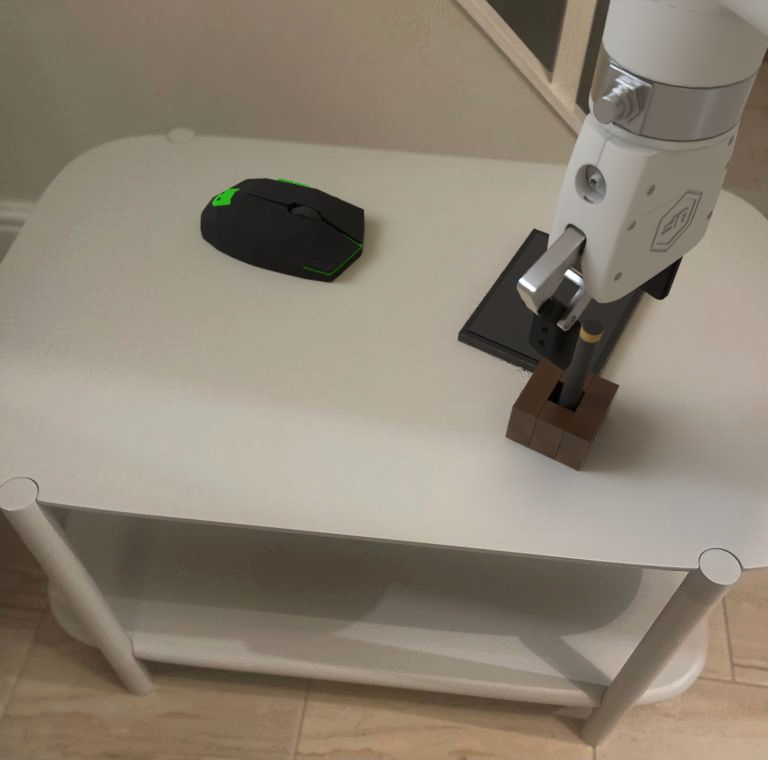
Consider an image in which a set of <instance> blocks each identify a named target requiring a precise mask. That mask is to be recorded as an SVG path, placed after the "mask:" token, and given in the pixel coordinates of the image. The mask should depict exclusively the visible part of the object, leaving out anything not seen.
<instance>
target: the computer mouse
mask: <svg viewBox="0 0 768 760" xmlns="http://www.w3.org/2000/svg"><path fill="white" fill-rule="evenodd" d="M199 223H200V224H199V225H200V226H199V228H200V234H201V236H202V239H203V240H204V241H206V242H207V243H208V244H210V246H212V247H213V248H215V250H217V251H219V252H220V253H223V254H225V255H227V256H228V257H230V258H233V259H235V260H238V261H240V262H242V263H245V264H248V265H251V266H254V267H257V268H259V269H260V268H261V269H264V270H268V271H272V272H276V273H280V274H284V275H288V276H293V277H296V278H300V279H305V280H311V281H319V282H324V283H325V282H326V283H332V282H333V281H334V280H336V279H337V278H338V277H339V276H340V275H342V273H344V272H345V271H346V270H347V269H348V268H350V266H351V265H353V263H354V262H355V261H356V260H358V259H359V258H360V257H361V256H362V254H363V249H364V239H365V236H364V235H365V208H361V207H359V206H357V205H355V204H353V203H350V202H348V201H346V200H343V199H341V198H339V197H337V196H334V195H331V194H329V193H327V192H326V191H323V190H321V189H318V188H316V187H310V185H307V184H304V183H301V182H298V181H295V182H294V181H293V180H289V179H284V178H278V179H273V178H268V177H261V178H260V177H258V178H246V179H244V180H242V181H240V182H238V183H237V184H234V185H233V186H231V187H229V188H227V189H225V190H223V191H222V192H219V193H218V194H216V195H215V196H213V197H211V199H210V201H209V202H208V203H207V204H206V206H205V207H204V208H203V210H202V211H201V213H200V219H199Z"/></svg>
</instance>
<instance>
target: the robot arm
mask: <svg viewBox="0 0 768 760" xmlns="http://www.w3.org/2000/svg"><path fill="white" fill-rule="evenodd" d="M767 50H768V0H609V4H608V9H607V14H606V19H605V23H604V29H603V33H602V37H601V41H600V45H599V50H598V55H597V60H596V64H595V68H594V72H593V77H592V82H591V88H590V91H589V96H588V107H589V111H590V112H589V113H588V114H587V115H586V116H585V118H584V121H583V124H582V125H581V129H580V131H579V133H578V136H577V139H576V141H575V144H574V146H573V149H572V153H571V155H570V158H569V161H568V165H567V168H566V171H565V174H564V177H563V180H562V183H561V186H560V190H559V194H558V197H557V200H556V205H555V209H554V212H553V217H552V221H551V224H550V225H551V226H550V229H549V233H548V234H549V240H548V248H547V251H546V252H545V253H544V254H543V255H542V256H541V257H540V258H539V259H538V260H537V261H536V263H535V264H534V265H533V266H532V267H531V268H530V269H529V270H528V271H527V272H526V273H525V274H524V275H523V276H522V277H521V279H520V280H519V281H518V283H517V290H518V292H519V294H520V296H521V298H522V304H524V305H525V306H526V307H528V308H529V309H530V310H532V311H533V312H534V315H533V320H532V325H531V330H530V335H529V343H530V345H531V346H532V347H533V348H534V349H535V350H536V351H537V352H538V353H539V354H540V355H541V356H543V357H544V358H547V359H548V360H550V361H551V362H552V363H553V364H555V365H556V366H557V367H558V368H560V369H561V370H565V369H566V368H567V367H569V366H570V365H571V362H572V359H573V355H574V352H575V348H576V344H577V341H578V337H579V333H580V330H581V326H582V325H581V323H580V322H579V321H578V320H577V319H578V318H579V316H580V315H581V313H582V312H583V310H584V309H585V308H586V306H587V305H588V303H589V302H590V300H591V299H592V298H593V299H595V300H596V301H597V302H599V303H608V302H612V301H615V300H618V299H620V298H622V297H623V296H625V295H627V294H628V293H630V292H631V291H633V290H634V289H636V288H637V287H639V288H640V289H642V290H643V291H644V293H646V294H648V295H649V296H651V297H652V298H653V299H655V300H657V301H663V300H665V299H666V298H667V297H668V296H670V292H671V289H672V287H673V284H674V281H675V278H676V276H677V274H678V272H679V269H680V266H681V263H682V261H683V258H684V256H685V255H686V254H687V253H689V252H691V250H692V249H694V248H695V247H696V246H697V245H698V244H699V243H700V242H701V241H702V239H703V238H704V236H705V234H706V232H707V230H708V227H709V225H710V222H711V219H712V217H713V213H714V211H715V208H716V206H717V203H718V199H719V197H720V194H721V191H722V189H723V184H724V182H725V178H726V175H727V172H728V169H729V166H730V162H731V160H732V156H733V152H734V149H735V145H736V142H737V138H738V134H739V133H738V132H739V127H740V123H741V117H742V114H743V112H744V109H745V107H746V104H747V102H748V99H749V96H750V94H751V91H752V89H753V86H754V84H755V81H756V78H757V76H758V73H759V71H760V68H761V65H762V63H763V61H764V58H765V55H766V52H767ZM579 258H582V260H581V268H582V274H581V273H580V272H578V271H577V270H575V269H574V268H572V265H573V264H574V263H575V262H576V261H577V260H578V259H579ZM564 277H565V278H567V279H568V280H569V281H571V282H572V283H574V284H575V285H576V286H578V287H579V289H578V291H577V292H576V294H575V295H574V297H573V298H572V300H571V301H570V303H569V304H568V305H567V306H566V305H565V304H563V303H562V302H560V301H559V300H558V299H556V298H555V297H554V296H552V295H553V294H554V292H555V291H556V289H557V288H558V286H559V285H560V283H561V282H562V280H563V279H564Z"/></svg>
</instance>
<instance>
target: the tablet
mask: <svg viewBox="0 0 768 760" xmlns="http://www.w3.org/2000/svg"><path fill="white" fill-rule="evenodd" d="M549 234H550V233H547V232H545V231H543V230H540V229H537V228H533V229H532V230H531V231H530V233H529V234H528V236H526V238H525V240H524V241H523V242H522V244H521V245H520V247H519V248H518V250H517V251H516V252H515V253H514V255H513V256H512V257H511V259H510V260H509V262H508V263H507V264H506V266H505V268H504V269H503V270H502V272H501V273H500V275H498V277H497V279H496V280H495V282H494V283H493V284H492V286H491V287H490V288H489V289H488V291H487V293H486V294H485V295H484V297H483V298H482V299H481V301H480V302H479V304H478V305H477V306H476V307H475V309H474V311H473V312H472V313H471V314H470V316H469V318H468V319H467V320H466V322H465V323H464V325H463V326H462V327H461V328H460V330H459V332H458V333H457V341H459V342H462V343H464V344H466V345H468V346H470V347H473V348H476V349H477V350H480V351H482V352H485V353H487V354H489V355H491V356H493V357H496V358H499V359H500V360H503V361H505V362H508V363H509V364H512V365H514V366H516V367H518V368H521V369H523V370H525V371H527V372H530V373H531V374H533V372H534V371H535V369H536V367H537V366H538V364H539V362H540V361H541V359H542V358H543V356H541V355H540V354H539V353H538V352H537V351H536V350H535V349H534V348H533V347H532V346H531V345H530V343H529V335H530V330H531V325H532V320H533V315H534V312H533V311H532V310H530V309H529V308H528V307H526V306H525V305H524V304H522V298H521V296H520V294H519V292H518V290H517V283H518V281H519V280H520V279H521V277H522V276H523V275H524V274H525V273H526V272H527V271H528V270H529V269H530V268H531V267H532V266H533V265H534V264H535V263H536V261H537V260H538V259H539V258H540V257H541V256H542V255H543V254H544V253H545V252H546V251H547V248H548V240H549ZM581 260H582V258H579V259H578V260H577V261H576V262H575V263H574V264H573V265H572V268H574V269H575V270H577V271H578V272H580V273H581V274H582V268H581ZM578 289H579V287H578V286H576V285H575V284H574V283H572V282H571V281H569V280H568V279H567V278H565V277H564V279H563V280H562V282H561V283H560V285H559V286H558V288H557V289H556V291H555V292H554V294H553V295H552V296H554V297H555V298H556V299H558V300H559V301H560V302H562V303H563V304H565V305H566V306H567V305H568V304H569V303H570V301H571V300H572V298H573V297H574V295H575V294H576V292H577V291H578ZM644 294H645V291H643V290H642V289H640V288H639V287H637V288H636V289H634V290H633V291H631V292H630V293H628V294H627V295H625V296H623V297H622V298H620V299H618V300H615V301H612V302H608V303H599V302H597V301H596V300H595V299H593V298H592V299H591V300H590V302H589V303H588V305H587V306H586V308H585V309H584V310H583V312H582V313H581V315H580V316H579V318H578V319H577V320H578V321H579V322H580V323H581V325H582V324H583V323H584V321H586V320H588V319H594V320H597V321H599V322H600V323H601V324H602V325H603V332H602V335H601V338H600V340H599V343H598V346H597V349H596V352H595V355H594V358H593V360H592V363H591V366H590V369H589V372H590V373H592V374H594V375H597V376H599V377H600V374H601V372H602V370H603V368H604V367H605V365H606V363H607V361H608V359H609V358H610V356H611V354H612V353H613V351H614V349H615V346H616V345H617V343H618V341H619V339H620V338H621V335H622V334H623V332H624V330H625V328H626V326H627V324H628V322H629V321H630V319H631V317H632V315H633V313H634V312H635V310H636V308H637V306H638V305H639V302H640V300H641V299H642V297H643V295H644ZM581 327H582V326H581ZM579 334H580V333H579Z"/></svg>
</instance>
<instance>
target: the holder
mask: <svg viewBox="0 0 768 760" xmlns="http://www.w3.org/2000/svg"><path fill="white" fill-rule="evenodd" d="M568 369H569V367H567V368H566V369H565V370H561V369H560V368H558V367H557V366H556V365H555V364H553V363H552V362H551V361H550V360H548V359H547V358H544V357H543V358H542V359H541V361H540V362H539V364H538V366H537V367H536V369H535V371H534V372H533V373H531V376H530V377H529V379H528V380H527V382H526V384H525V385H524V387H523V388H522V390H521V392H520V394H519V395H518V396H517V398H516V400H515V402H514V403H513V405H512V407H511V411H510V416H509V419H508V425H507V427H506V432H505V438H507V439H509V440H511V441H512V442H515V443H518V444H520V445H522V446H524V447H526V448H528V449H530V450H532V451H534V452H537V453H539V454H541V455H543V456H544V457H547V458H550V459H552V460H555V461H556V462H558V463H560V464H562V465H564V466H566V467H569V468H571V469H572V470H574V471H577V472H579V471H580V470H581V468H582V466H583V464H584V462H585V460H586V458H587V457H588V454H589V453H590V450H591V448H592V446H593V445H594V442H595V441H596V439H597V437H598V435H599V433H600V431H601V429H602V427H603V425H604V423H605V421H606V419H607V417H608V416H609V412H610V410H611V408H612V406H613V403H614V400H615V398H616V395H617V394H618V393H617V392H618V390H619V388H620V384H618V383H615V382H613V381H611V380H609V379H606V378H604V377H602V376H600V375H599V376H597V375H594V374H592V373H590V372H588V375H587V378H586V381H585V384H584V386H583V389H582V392H581V395H580V398H579V401H578V404H577V407H576V410H575V412H573V411H571V410H569V409H567V408H564V407H562V406H560V405H558V401H559V398H560V395H561V392H562V388H563V385H564V382H565V379H566V376H567V373H568Z"/></svg>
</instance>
